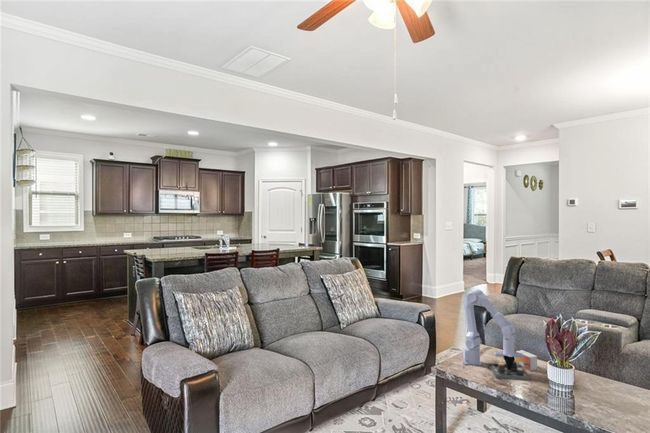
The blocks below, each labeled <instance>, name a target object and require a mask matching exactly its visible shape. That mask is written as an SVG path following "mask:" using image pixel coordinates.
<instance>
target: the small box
mask: <svg viewBox="0 0 650 433" xmlns="http://www.w3.org/2000/svg"><path fill="white" fill-rule="evenodd" d="M515 352H516V353H522V354H523V358H521V357H515V361H516V363H517V365H522V368H523V369H524V370H525V369H526V370H527V371H536V370H538V355H535V354H533V353H530V352H528V351H526V350H522V349H521V350H516V351H515Z"/></svg>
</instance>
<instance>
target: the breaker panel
mask: <svg viewBox="0 0 650 433" xmlns="http://www.w3.org/2000/svg"><path fill="white" fill-rule="evenodd" d="M499 363H500V362H498V363H497V362H494V363H493V362H488V368H489V370H490V371H491V372H492V374H493V376H494V377H495V378H496V379H506V380H521V381H522V380H523V381H532V376H531V375H529V374H528V372H527V371H526V370H525V368H523V367H522V365H517V363H516V360H515V361H514V362H513V364H512V366H511V370H508V369H507V366H506V363H503V364H504V365H505V371H499V370H498V364H499Z"/></svg>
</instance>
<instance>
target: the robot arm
mask: <svg viewBox="0 0 650 433" xmlns="http://www.w3.org/2000/svg"><path fill="white" fill-rule="evenodd" d="M475 304H478V305H482V306H483V307H484V308H485V309H486V310H487V311H488V312H489V313H490V314H491V315H492V319H493V321H494V322H495V323H496V324H497V326H498V327H499V328H500V329H501V333H502V348H503V349H502V350H501V351H494V356H495V357H503V360H504V362H505V364H506V366H507V369H508V370H511V366H512V364H513V362H514V361H516V357H521V358H523V354H522V353H516V351H515V332H516V331H517V329H516V326H515V324H514V323H512V322H511V321H509V320H508V319H507V318H506V317H505V315H504V313H502V312H500V311H498V310H497V309H496V308H495V307H494V305H493V304H492V302H490V300H489V299H488V298H487V295H486V294H485V293H484V292H483V291H482V290H480V289H475V290H471V291H469V292H468V293H466V294H465V299H464V300H463V308H464V309H463V310H464V317H465V323H466V329H467V331H466V332H467V333H466V335H465V341H464V343H465V347H462V360H463V363H464V364H465V365H470V366H471V365H473V366H482V362H481V347H480V346H482V343H483V341H482V338H481V337H480V336H481V335H480V333H479V332H478V329H477V323H476V317H475V316H476V315H475V309H474V306H475Z"/></svg>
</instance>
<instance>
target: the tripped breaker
mask: <svg viewBox="0 0 650 433" xmlns="http://www.w3.org/2000/svg"><path fill="white" fill-rule="evenodd" d="M498 363H499V364H498V370H499V371H505V365H504V364H505V363H504V362H498Z"/></svg>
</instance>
